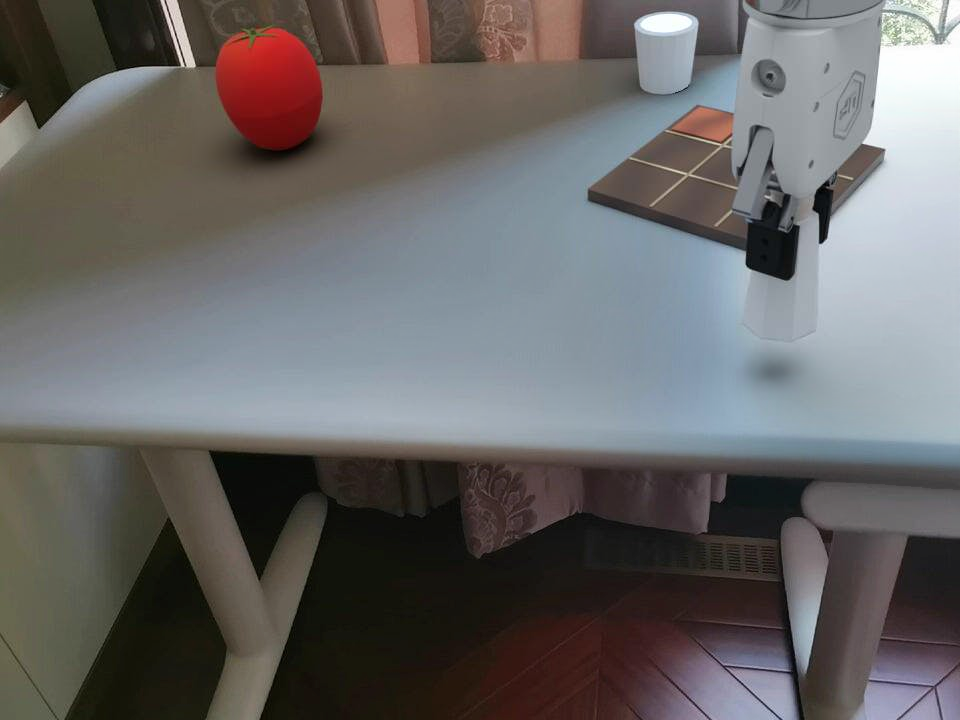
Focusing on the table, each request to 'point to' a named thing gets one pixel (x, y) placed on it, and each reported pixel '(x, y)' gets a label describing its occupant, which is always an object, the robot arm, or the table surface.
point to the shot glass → (665, 51)
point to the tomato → (269, 87)
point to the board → (702, 178)
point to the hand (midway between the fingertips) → (786, 252)
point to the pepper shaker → (788, 286)
